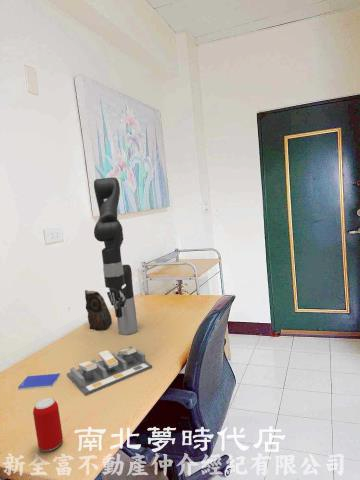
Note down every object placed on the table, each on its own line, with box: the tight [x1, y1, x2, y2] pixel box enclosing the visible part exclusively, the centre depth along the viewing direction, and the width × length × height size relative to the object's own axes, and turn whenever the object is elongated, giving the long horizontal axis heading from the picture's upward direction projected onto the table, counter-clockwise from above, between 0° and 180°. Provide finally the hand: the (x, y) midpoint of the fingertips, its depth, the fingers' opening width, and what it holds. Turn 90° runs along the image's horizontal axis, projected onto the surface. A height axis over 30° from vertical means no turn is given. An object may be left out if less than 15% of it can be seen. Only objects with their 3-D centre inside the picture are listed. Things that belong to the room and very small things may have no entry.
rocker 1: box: [77, 360, 97, 371], centre depth 124 cm, size 9×4×2 cm, turn 36°
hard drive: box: [17, 373, 61, 391], centre depth 127 cm, size 2×8×12 cm
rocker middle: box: [98, 349, 118, 368], centre depth 129 cm, size 9×4×2 cm, turn 36°
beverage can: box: [32, 397, 64, 452], centre depth 91 cm, size 6×6×12 cm
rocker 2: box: [117, 347, 137, 356], centre depth 134 cm, size 9×4×2 cm, turn 36°
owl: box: [84, 289, 113, 332], centre depth 180 cm, size 13×13×20 cm
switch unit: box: [66, 346, 153, 396], centre depth 129 cm, size 19×26×4 cm
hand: (119, 317), depth 135 cm, fingers closed
